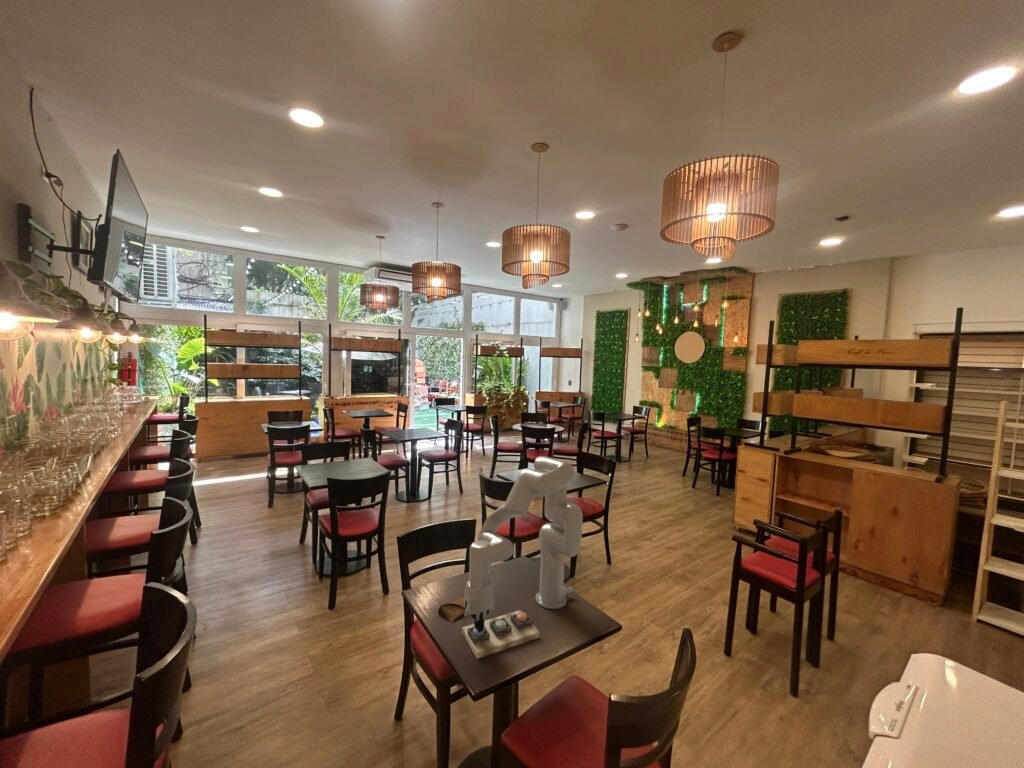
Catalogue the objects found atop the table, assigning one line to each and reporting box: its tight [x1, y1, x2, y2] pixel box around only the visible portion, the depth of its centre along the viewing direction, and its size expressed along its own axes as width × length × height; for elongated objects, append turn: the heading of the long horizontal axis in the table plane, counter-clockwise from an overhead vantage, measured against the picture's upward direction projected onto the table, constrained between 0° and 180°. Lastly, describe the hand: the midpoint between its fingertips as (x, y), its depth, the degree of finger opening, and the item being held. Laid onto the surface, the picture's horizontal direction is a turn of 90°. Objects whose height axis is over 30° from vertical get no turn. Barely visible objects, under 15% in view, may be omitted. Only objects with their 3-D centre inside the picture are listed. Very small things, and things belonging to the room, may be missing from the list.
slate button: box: [473, 628, 484, 637], centre depth 143 cm, size 4×4×2 cm
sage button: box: [495, 620, 506, 630], centre depth 147 cm, size 4×4×2 cm
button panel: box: [461, 609, 541, 659], centre depth 147 cm, size 24×14×4 cm, turn 118°
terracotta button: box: [516, 611, 528, 623], centre depth 151 cm, size 4×4×2 cm
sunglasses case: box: [437, 595, 466, 624], centre depth 162 cm, size 18×7×7 cm
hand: (479, 629), depth 143 cm, fingers closed
